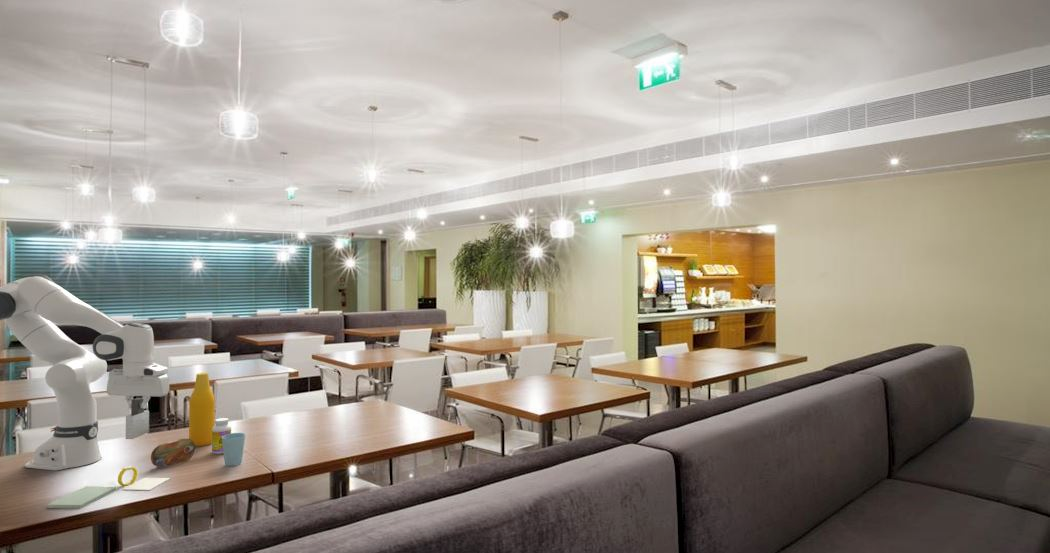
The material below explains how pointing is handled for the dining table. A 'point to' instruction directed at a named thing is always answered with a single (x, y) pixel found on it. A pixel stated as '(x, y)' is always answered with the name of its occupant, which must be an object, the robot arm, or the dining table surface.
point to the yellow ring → (123, 473)
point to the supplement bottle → (219, 434)
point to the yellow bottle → (201, 411)
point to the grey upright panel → (137, 420)
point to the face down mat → (146, 484)
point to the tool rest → (82, 497)
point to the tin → (172, 453)
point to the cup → (233, 448)
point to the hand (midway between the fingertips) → (137, 408)
